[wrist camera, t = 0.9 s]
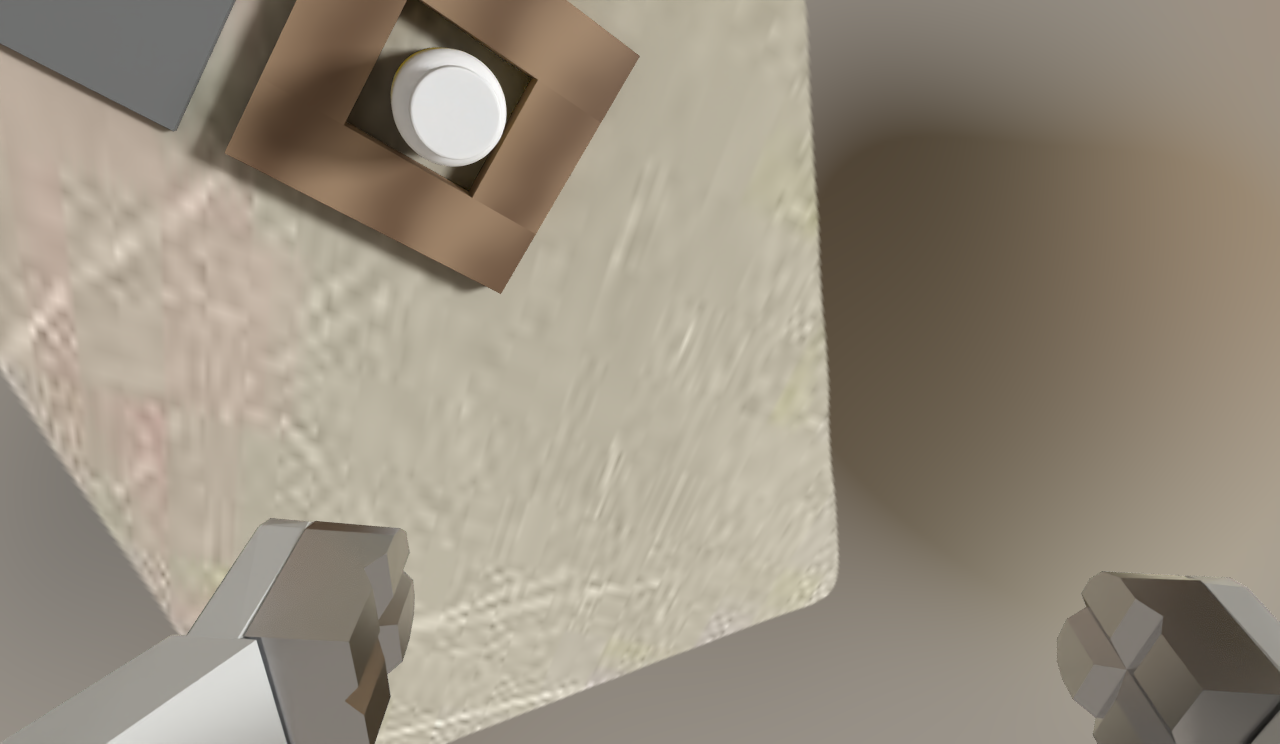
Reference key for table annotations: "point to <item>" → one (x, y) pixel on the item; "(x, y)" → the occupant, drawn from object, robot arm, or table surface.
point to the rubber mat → (121, 46)
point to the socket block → (401, 187)
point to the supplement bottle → (448, 106)
